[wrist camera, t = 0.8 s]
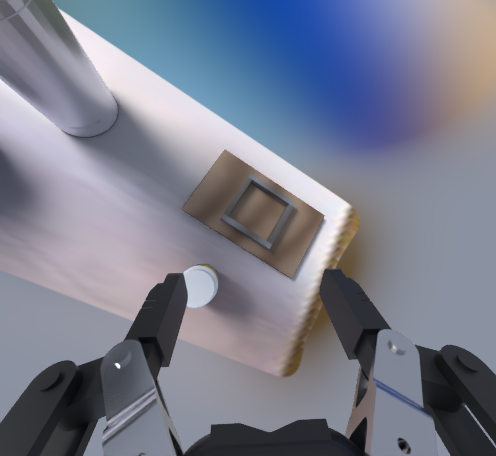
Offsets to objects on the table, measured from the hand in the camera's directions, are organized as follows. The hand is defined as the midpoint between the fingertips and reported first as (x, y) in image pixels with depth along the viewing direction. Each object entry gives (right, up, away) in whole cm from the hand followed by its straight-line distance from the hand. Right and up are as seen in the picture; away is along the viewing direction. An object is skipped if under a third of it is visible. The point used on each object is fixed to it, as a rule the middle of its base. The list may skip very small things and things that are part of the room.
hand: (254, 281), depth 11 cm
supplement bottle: (-7, -5, +18) cm, 20 cm away
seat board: (+1, +5, +20) cm, 21 cm away
